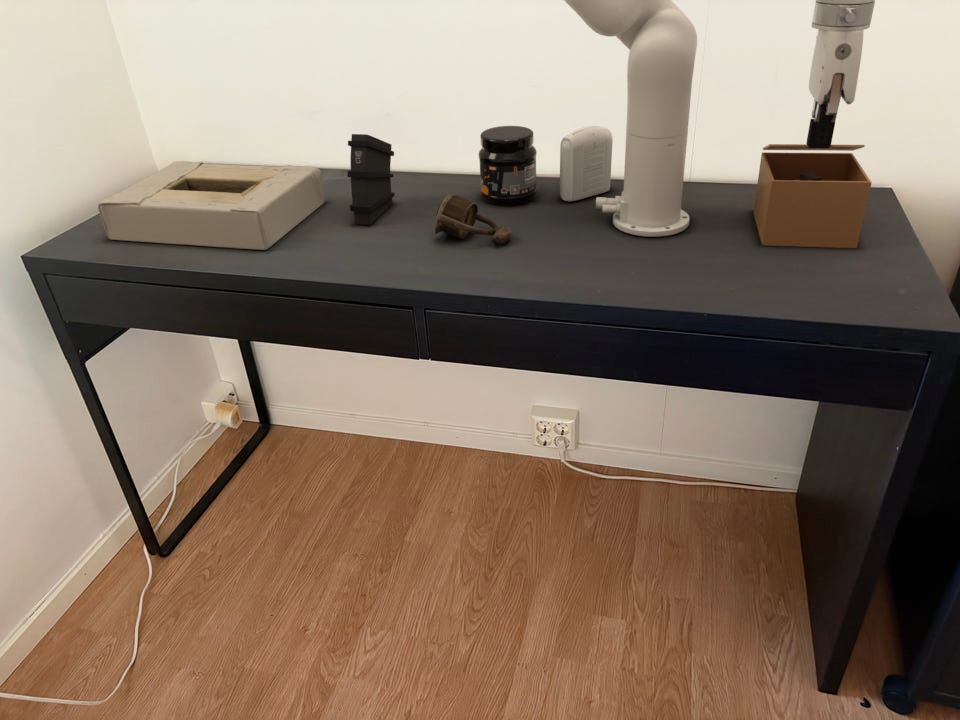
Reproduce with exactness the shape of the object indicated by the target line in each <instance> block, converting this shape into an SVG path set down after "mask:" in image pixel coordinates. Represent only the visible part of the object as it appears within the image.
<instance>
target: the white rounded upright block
mask: <svg viewBox="0 0 960 720" xmlns="http://www.w3.org/2000/svg"><path fill="white" fill-rule="evenodd" d="M559 146H560V147H559V148H560V149H559V196H560V198H561V200H563V201H565V202H575V201H579V200H582V199H587V198H591V197H594V196H597V195H601V194H603V193H606V192H609V191H610V190H611V182H612V181H611V180H612V179H611V178H612V161H613V160H612V159H613V158H612V157H613V134H612V132H611V130H610V129H609V128H607V127H604V126H600V125H588V126H584V127H581V128H578V129H575V130H573V131H572V132H570V133H567V134H566V135H565V136H564V137H563V138H562V139H561V141H560V144H559Z"/></svg>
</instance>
